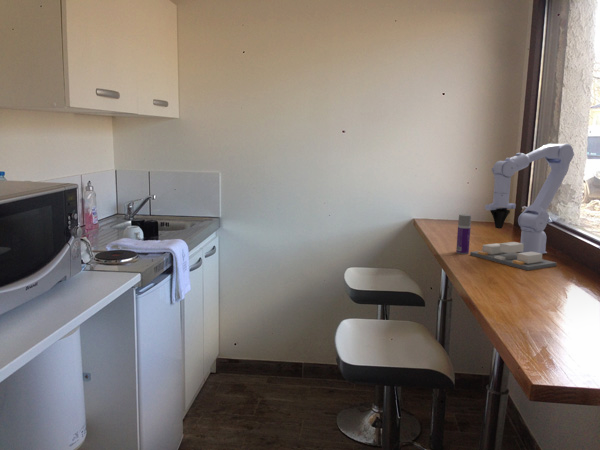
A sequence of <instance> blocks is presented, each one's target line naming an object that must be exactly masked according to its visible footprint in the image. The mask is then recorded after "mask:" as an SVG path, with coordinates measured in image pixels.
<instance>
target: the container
mask: <svg viewBox="0 0 600 450" xmlns="http://www.w3.org/2000/svg"><path fill="white" fill-rule="evenodd" d="M471 224H472V215H471V214H468V213H467V214H466V213H459V214H458V223H457V233H456V234H457V235H456V236H457V237H456V250H455V251H456V254H459V255H469V254H470V241H471V239H470V238H471V227H472V225H471Z"/></svg>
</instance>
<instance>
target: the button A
mask: <svg viewBox="0 0 600 450" xmlns="http://www.w3.org/2000/svg"><path fill="white" fill-rule="evenodd" d="M481 249H482V250H481V251H483V252H487V253H488V254H498V253H505V252H502V251H500V243H488V244H482V248H481Z"/></svg>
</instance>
